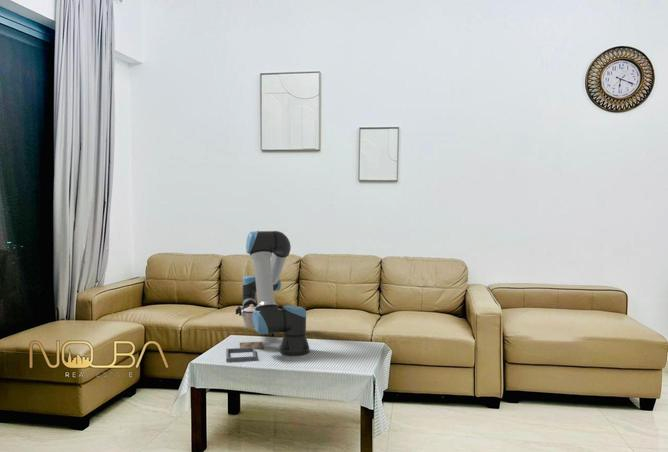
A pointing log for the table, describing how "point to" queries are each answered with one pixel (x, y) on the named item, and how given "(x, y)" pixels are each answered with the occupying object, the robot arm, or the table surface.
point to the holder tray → (235, 359)
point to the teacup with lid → (248, 316)
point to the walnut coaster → (252, 345)
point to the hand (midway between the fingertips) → (251, 314)
